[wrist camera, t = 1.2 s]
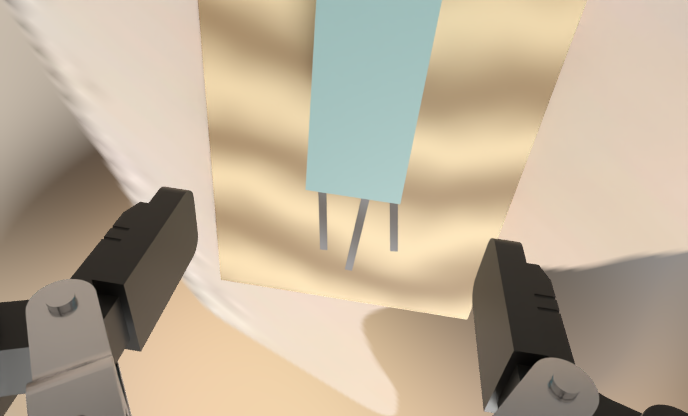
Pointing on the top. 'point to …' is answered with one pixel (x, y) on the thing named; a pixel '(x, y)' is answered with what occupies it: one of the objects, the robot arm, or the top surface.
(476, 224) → the board
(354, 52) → the block
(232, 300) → the top surface
